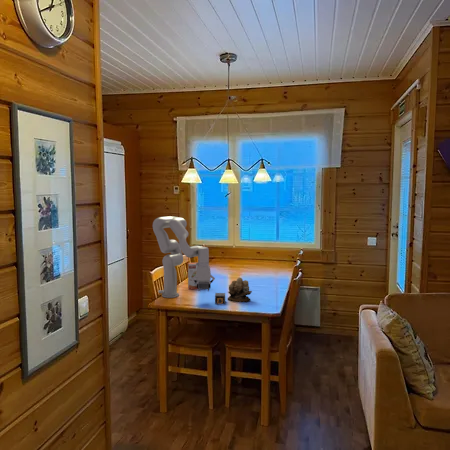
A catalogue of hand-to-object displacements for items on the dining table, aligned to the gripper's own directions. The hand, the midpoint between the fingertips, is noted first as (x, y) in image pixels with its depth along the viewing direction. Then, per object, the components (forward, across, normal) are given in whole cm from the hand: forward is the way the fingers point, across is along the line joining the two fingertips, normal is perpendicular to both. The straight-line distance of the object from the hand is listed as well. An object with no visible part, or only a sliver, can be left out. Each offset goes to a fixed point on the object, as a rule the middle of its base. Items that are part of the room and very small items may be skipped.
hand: (203, 289), depth 291 cm
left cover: (+1, 0, 0) cm, 1 cm away
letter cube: (+10, +12, 0) cm, 15 cm away
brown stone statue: (+10, +26, +7) cm, 29 cm away
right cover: (+10, +12, 0) cm, 15 cm away
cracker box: (+10, -8, +39) cm, 41 cm away
